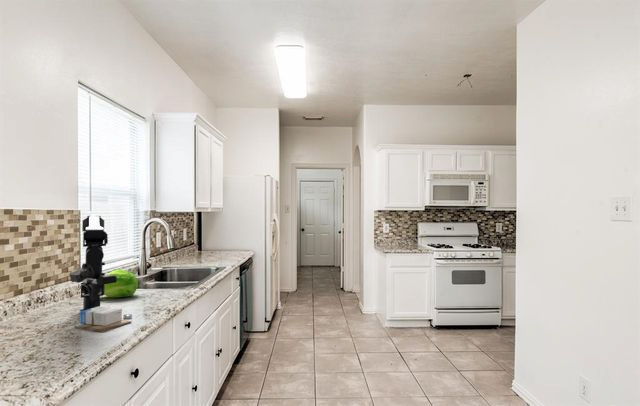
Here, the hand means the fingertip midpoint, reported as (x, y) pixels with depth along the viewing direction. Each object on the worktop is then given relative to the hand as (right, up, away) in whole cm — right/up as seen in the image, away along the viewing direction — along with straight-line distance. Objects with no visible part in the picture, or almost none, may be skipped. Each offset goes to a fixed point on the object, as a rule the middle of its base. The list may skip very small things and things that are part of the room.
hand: (93, 300), depth 147 cm
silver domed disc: (+10, -10, +8) cm, 16 cm away
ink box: (-2, -6, +1) cm, 6 cm away
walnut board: (+6, -9, -2) cm, 11 cm away
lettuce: (-17, -10, +45) cm, 49 cm away
